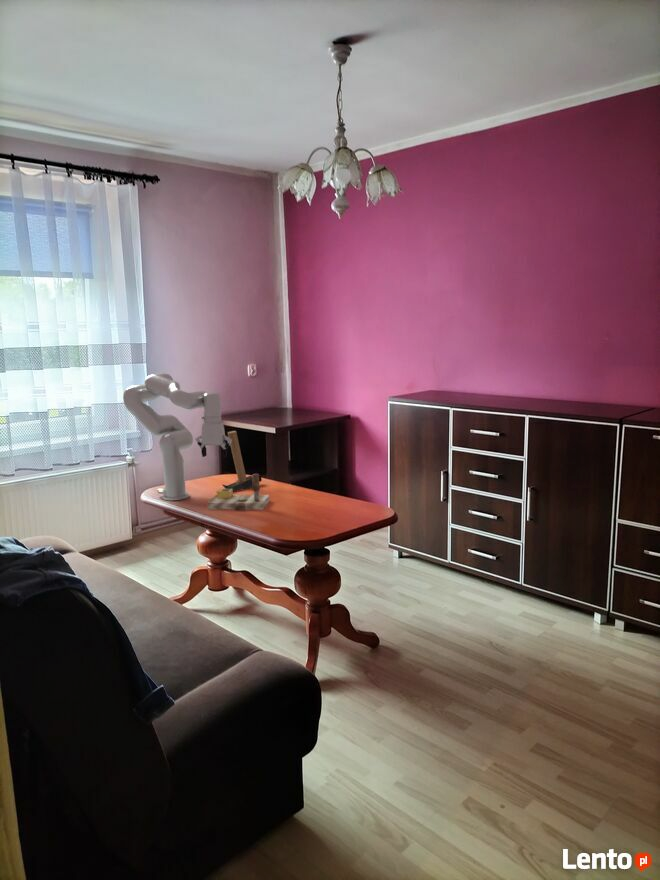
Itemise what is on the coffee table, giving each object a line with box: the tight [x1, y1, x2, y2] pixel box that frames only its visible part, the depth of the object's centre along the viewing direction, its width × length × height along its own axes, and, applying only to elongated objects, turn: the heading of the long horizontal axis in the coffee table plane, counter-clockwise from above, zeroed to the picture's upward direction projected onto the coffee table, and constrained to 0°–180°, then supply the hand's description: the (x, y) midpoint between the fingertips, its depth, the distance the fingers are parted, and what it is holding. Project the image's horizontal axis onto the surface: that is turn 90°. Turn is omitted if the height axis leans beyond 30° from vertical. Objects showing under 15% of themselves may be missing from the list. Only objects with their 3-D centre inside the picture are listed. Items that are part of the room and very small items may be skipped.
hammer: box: [221, 430, 262, 492], centre depth 318 cm, size 20×5×30 cm, turn 131°
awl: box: [251, 473, 261, 501], centre depth 286 cm, size 3×3×12 cm
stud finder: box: [216, 488, 234, 498], centre depth 295 cm, size 6×5×3 cm
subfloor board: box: [206, 494, 271, 512], centre depth 291 cm, size 25×17×3 cm
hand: (214, 456), depth 294 cm, fingers open, 9 cm apart
